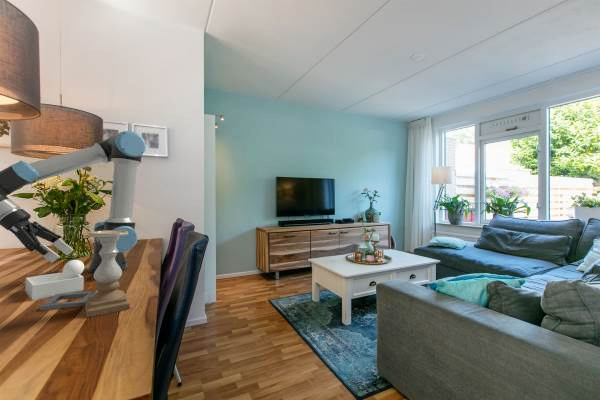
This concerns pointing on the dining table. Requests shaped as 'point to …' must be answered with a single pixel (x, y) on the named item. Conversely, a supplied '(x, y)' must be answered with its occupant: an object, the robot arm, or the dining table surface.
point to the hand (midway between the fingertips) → (63, 256)
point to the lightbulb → (71, 269)
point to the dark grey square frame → (54, 305)
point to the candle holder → (107, 278)
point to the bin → (52, 285)
